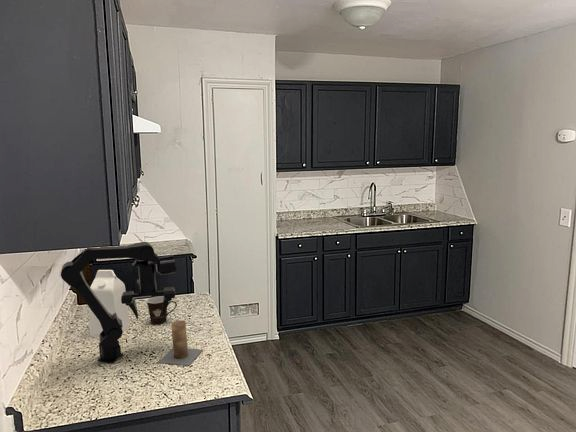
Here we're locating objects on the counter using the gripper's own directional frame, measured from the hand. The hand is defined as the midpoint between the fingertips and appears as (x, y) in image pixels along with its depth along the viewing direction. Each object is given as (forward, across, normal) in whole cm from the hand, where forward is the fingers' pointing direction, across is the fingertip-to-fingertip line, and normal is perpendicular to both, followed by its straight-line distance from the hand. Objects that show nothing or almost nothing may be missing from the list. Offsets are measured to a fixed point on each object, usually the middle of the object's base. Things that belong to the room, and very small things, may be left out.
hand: (150, 317), depth 167 cm
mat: (+13, -10, +9) cm, 19 cm away
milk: (+13, +18, -24) cm, 33 cm away
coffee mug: (+13, -3, -27) cm, 30 cm away
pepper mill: (+13, -10, +9) cm, 18 cm away
